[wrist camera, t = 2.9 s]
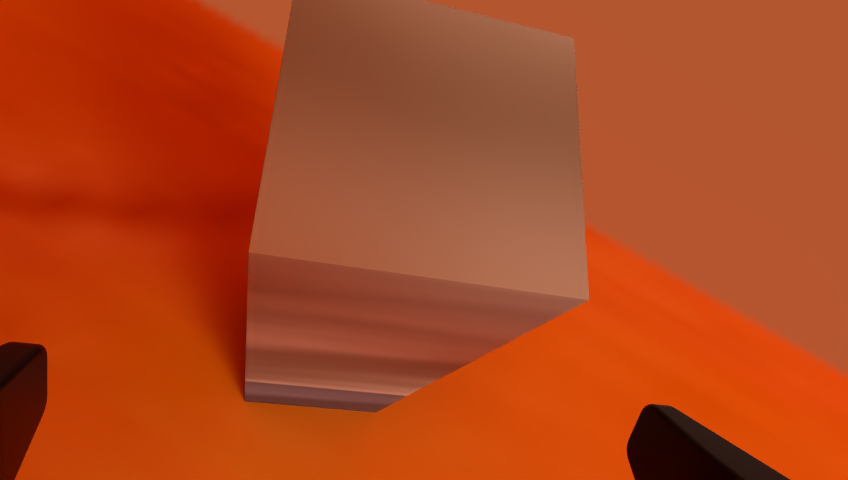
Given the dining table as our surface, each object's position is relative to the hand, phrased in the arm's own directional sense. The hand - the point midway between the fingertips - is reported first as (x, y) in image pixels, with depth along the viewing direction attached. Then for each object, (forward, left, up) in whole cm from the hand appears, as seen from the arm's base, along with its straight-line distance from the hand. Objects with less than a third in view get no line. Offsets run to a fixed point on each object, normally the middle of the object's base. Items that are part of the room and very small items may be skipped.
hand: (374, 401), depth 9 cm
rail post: (+2, +2, -10) cm, 11 cm away
